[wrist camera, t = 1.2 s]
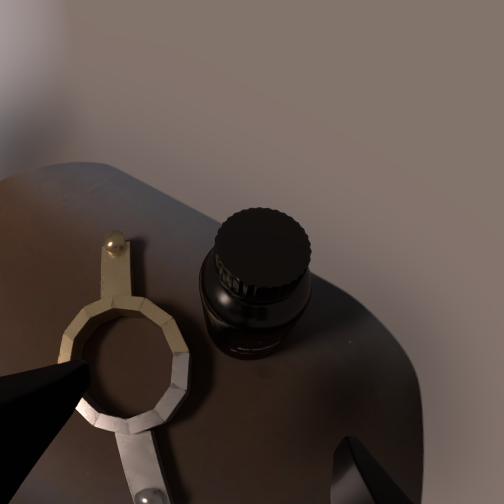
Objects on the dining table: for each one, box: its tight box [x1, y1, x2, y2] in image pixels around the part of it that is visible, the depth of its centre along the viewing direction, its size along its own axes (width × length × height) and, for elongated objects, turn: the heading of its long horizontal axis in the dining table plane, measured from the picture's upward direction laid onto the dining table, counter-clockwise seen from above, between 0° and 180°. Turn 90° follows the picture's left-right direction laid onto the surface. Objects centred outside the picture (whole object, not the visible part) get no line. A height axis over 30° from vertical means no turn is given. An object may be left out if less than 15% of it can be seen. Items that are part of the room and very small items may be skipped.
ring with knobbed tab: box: [58, 230, 192, 364], centre depth 23 cm, size 13×12×2 cm
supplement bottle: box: [199, 207, 312, 360], centre depth 19 cm, size 7×7×12 cm
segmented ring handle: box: [76, 352, 193, 504], centre depth 15 cm, size 17×12×2 cm
